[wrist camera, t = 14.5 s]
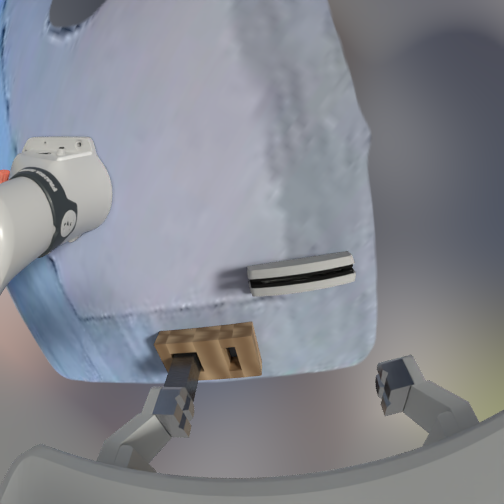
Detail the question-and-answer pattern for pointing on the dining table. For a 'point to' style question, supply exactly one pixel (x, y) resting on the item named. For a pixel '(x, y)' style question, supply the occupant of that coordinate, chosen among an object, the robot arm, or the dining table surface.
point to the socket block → (214, 349)
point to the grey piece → (301, 274)
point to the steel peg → (184, 372)
